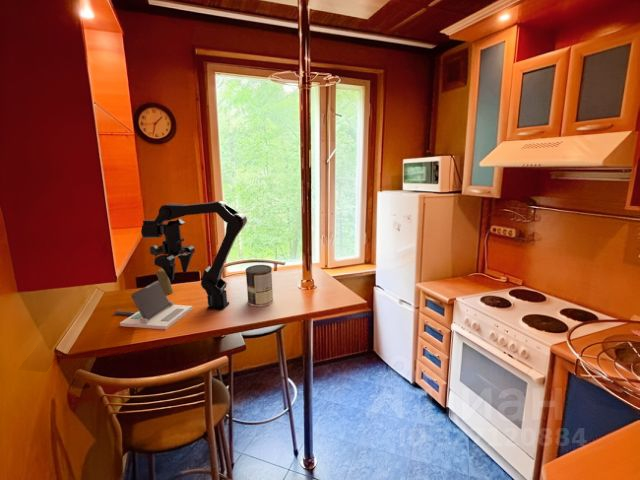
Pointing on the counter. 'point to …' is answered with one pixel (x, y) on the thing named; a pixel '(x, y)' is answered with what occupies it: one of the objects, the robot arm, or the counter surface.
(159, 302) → the lever
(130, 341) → the counter surface
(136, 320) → the switch plate
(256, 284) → the coffee can
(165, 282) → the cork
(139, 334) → the counter surface
